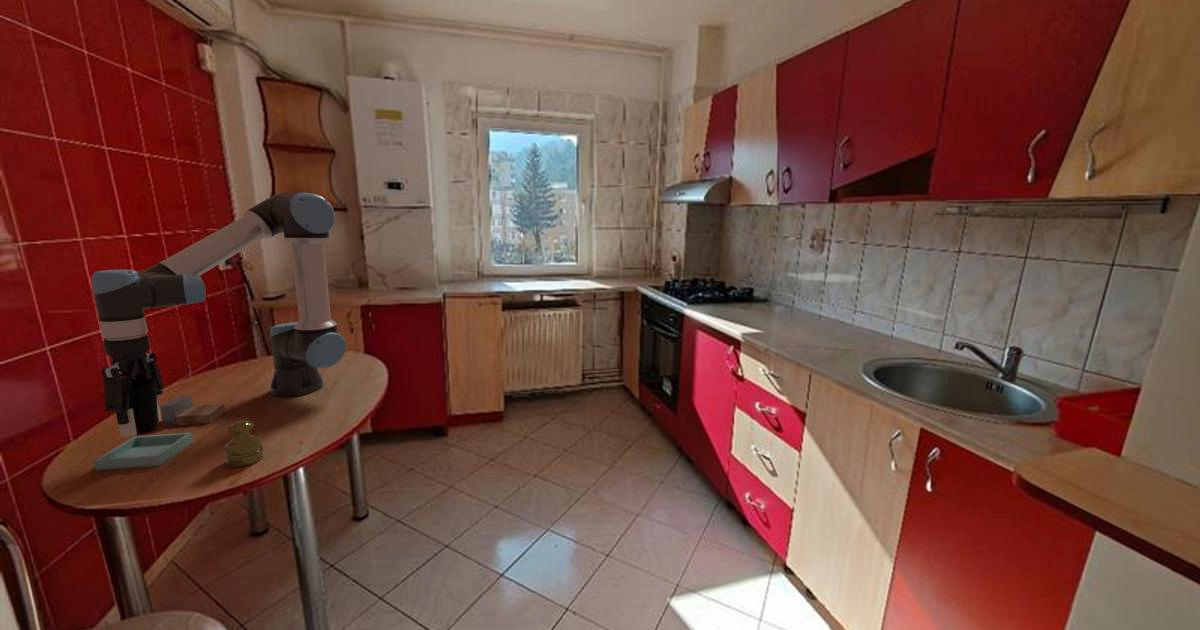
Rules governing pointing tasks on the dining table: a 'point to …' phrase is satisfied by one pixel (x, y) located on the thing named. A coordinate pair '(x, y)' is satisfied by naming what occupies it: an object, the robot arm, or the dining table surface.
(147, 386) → the cup
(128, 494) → the dining table surface
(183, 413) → the tan square block
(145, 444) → the tray
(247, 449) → the olive yellow vase
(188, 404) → the block
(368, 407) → the dining table surface
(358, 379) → the dining table surface
